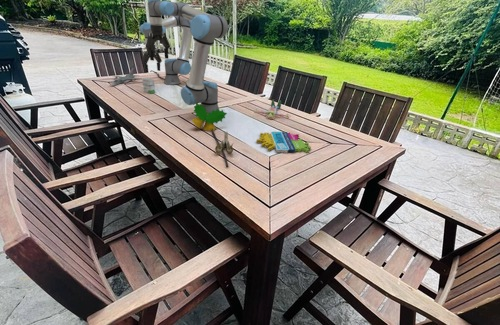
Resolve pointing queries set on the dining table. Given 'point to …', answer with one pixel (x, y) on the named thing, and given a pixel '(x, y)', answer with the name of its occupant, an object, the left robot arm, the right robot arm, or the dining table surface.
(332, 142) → the dining table surface
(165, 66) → the left robot arm
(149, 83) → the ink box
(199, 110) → the ornament
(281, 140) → the colourful gloves pack
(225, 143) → the jawbone
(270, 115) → the toy
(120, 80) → the airplane
